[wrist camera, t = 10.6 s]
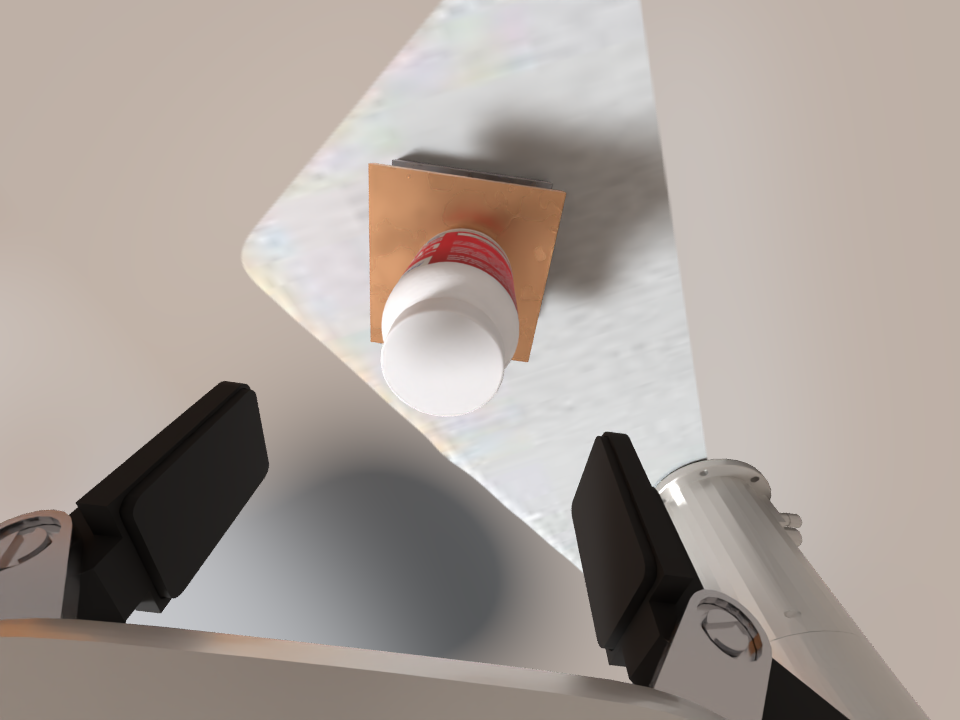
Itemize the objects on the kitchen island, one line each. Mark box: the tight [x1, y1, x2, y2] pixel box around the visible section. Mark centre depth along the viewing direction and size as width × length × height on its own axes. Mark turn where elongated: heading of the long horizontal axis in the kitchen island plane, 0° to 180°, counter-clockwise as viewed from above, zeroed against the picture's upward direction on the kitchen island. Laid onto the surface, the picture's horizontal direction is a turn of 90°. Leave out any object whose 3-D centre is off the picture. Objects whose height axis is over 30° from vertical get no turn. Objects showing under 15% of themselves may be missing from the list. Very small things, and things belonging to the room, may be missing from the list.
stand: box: [369, 159, 566, 362], centre depth 27 cm, size 11×11×7 cm
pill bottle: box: [381, 228, 519, 417], centre depth 19 cm, size 6×6×11 cm
